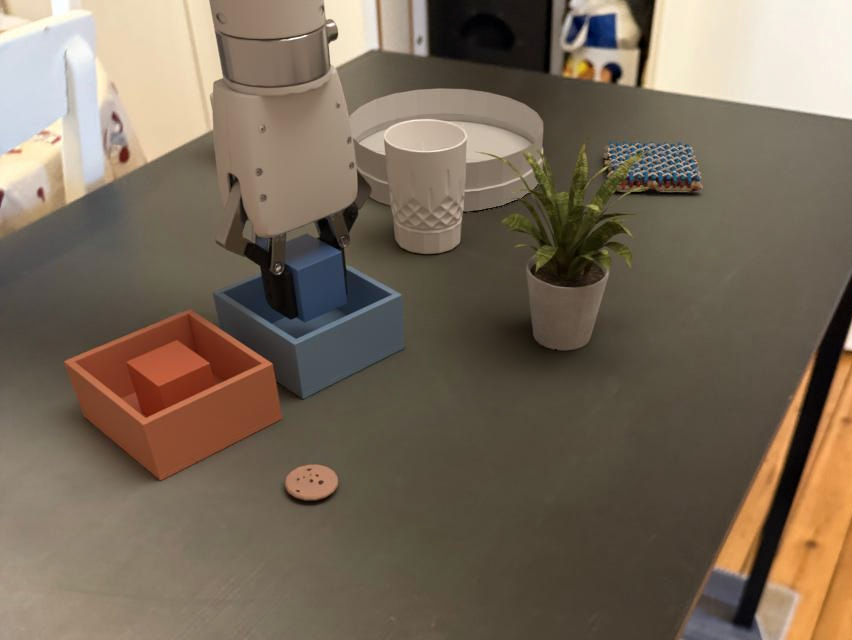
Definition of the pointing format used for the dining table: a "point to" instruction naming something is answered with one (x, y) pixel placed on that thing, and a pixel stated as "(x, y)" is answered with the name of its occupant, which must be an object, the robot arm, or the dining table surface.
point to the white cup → (426, 183)
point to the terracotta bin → (187, 420)
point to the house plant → (569, 251)
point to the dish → (501, 138)
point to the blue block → (315, 276)
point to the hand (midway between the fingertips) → (308, 299)
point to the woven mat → (656, 166)
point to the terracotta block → (168, 376)
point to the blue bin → (315, 331)
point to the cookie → (311, 482)
